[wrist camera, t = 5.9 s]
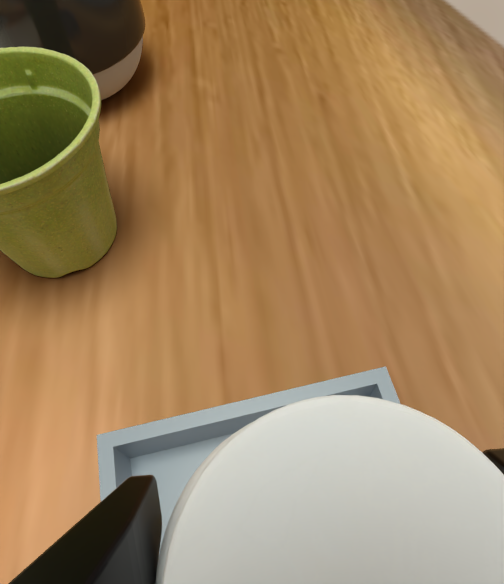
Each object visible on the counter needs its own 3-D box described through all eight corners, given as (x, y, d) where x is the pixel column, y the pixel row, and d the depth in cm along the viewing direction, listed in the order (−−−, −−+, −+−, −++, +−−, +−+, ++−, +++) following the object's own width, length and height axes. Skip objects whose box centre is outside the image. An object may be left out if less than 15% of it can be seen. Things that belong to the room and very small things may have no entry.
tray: (494, 718, 16) (536, 749, 13) (149, 821, 15) (123, 877, 13) (372, 388, 22) (385, 366, 19) (119, 450, 21) (96, 435, 18)
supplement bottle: (224, 457, 15) (164, 308, 6) (401, 483, 14) (605, 362, 6) (187, 676, 12) (-13, 954, 3) (403, 719, 11) (806, 1182, 3)
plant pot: (45, 159, 30) (-31, 29, 23) (174, 197, 28) (137, 67, 21) (-49, 274, 26) (-181, 161, 19) (94, 327, 24) (12, 224, 17)
